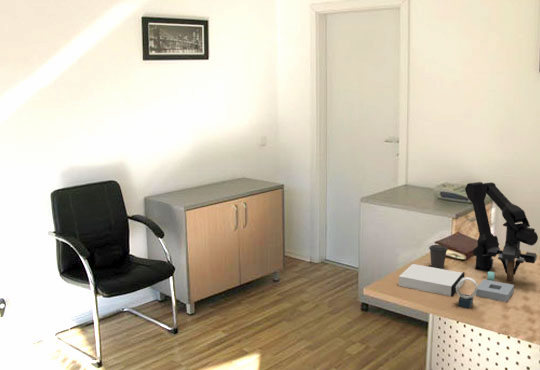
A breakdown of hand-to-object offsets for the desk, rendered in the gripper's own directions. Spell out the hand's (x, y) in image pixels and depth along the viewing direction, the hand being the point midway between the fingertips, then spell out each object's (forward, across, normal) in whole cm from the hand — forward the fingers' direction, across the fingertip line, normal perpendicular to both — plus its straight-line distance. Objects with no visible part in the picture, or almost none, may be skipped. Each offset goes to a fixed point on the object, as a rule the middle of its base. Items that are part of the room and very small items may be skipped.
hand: (510, 273), depth 258 cm
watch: (+3, -9, -35) cm, 36 cm away
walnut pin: (+3, 0, 0) cm, 3 cm away
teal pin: (+3, -6, -8) cm, 10 cm away
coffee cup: (+3, -31, 0) cm, 31 cm away
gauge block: (+3, -2, -18) cm, 18 cm away
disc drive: (+4, -27, -21) cm, 34 cm away
